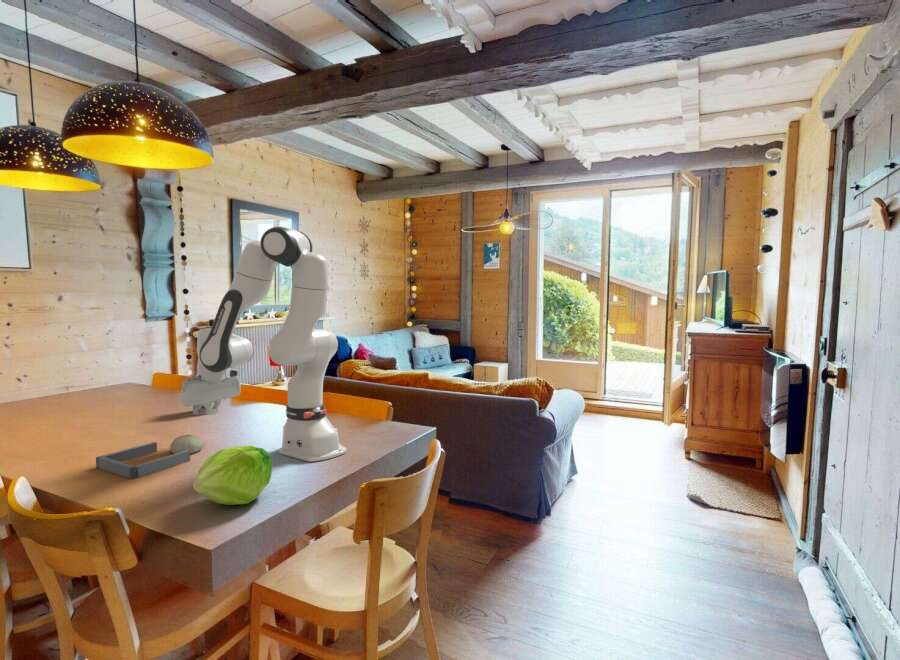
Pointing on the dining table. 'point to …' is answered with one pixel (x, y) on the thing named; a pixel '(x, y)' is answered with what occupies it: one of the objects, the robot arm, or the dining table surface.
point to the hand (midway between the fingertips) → (212, 413)
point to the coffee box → (200, 407)
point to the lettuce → (234, 475)
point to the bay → (116, 465)
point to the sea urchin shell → (187, 444)
